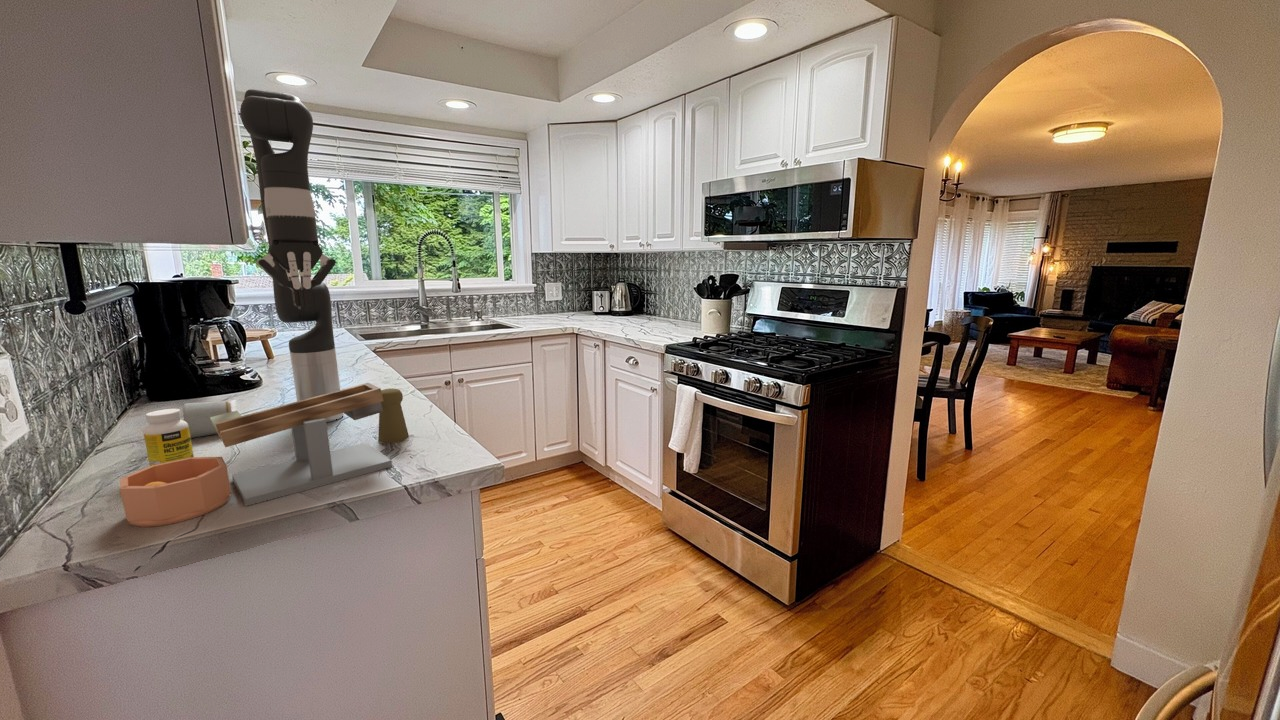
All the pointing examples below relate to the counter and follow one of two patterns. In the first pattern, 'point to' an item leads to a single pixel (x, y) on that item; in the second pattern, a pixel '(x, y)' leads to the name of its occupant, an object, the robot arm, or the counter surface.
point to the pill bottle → (167, 437)
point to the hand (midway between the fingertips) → (303, 308)
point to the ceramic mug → (203, 416)
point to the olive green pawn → (392, 417)
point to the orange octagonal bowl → (175, 491)
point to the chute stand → (308, 465)
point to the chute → (298, 413)
